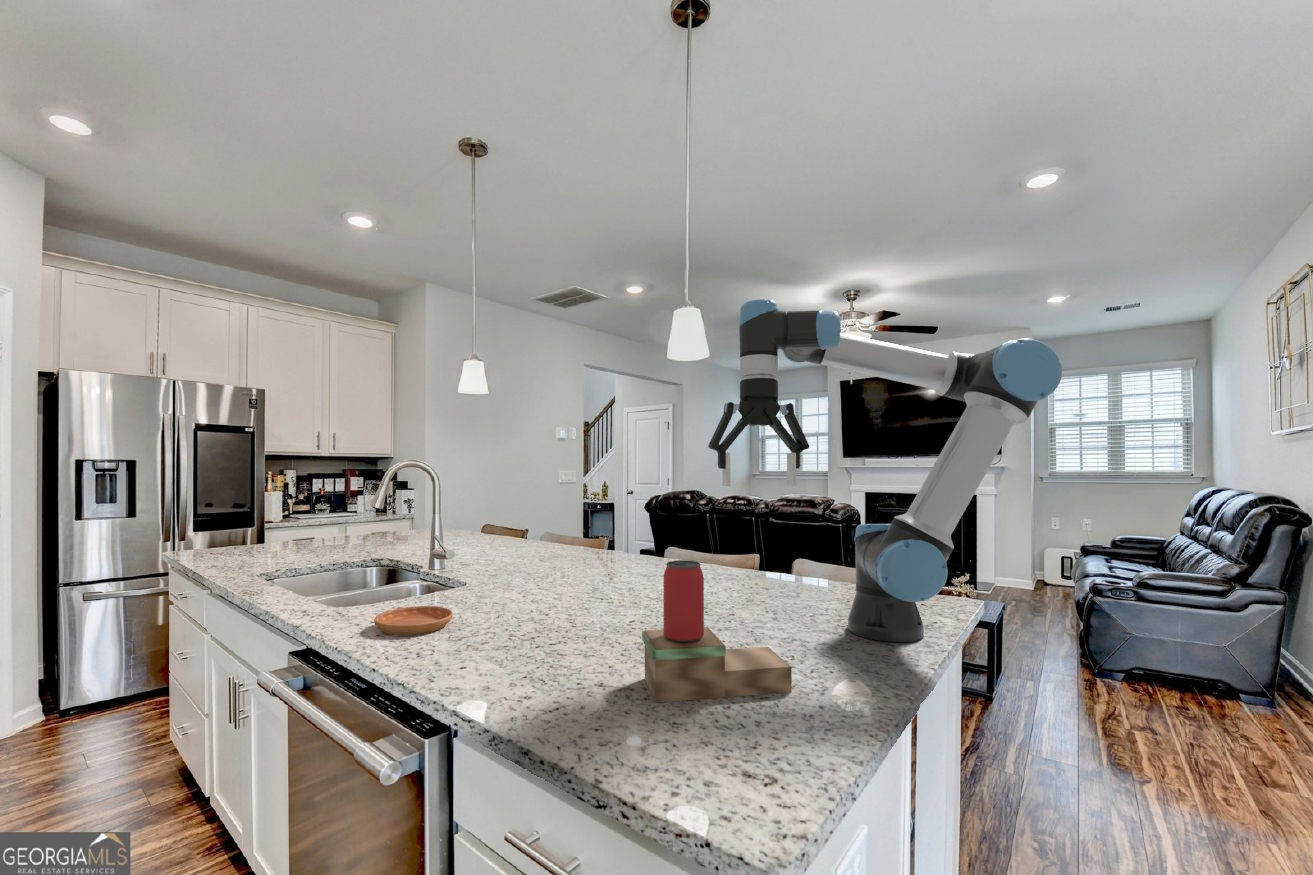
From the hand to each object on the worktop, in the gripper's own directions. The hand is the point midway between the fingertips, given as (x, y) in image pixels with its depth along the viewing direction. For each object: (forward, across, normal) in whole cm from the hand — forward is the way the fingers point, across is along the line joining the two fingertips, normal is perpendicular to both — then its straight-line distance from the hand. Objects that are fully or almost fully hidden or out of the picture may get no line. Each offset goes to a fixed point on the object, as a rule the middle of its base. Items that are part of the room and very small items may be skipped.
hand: (759, 485), depth 116 cm
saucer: (+32, +70, -27) cm, 82 cm away
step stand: (+32, +14, +17) cm, 39 cm away
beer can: (+24, +19, +17) cm, 35 cm away
